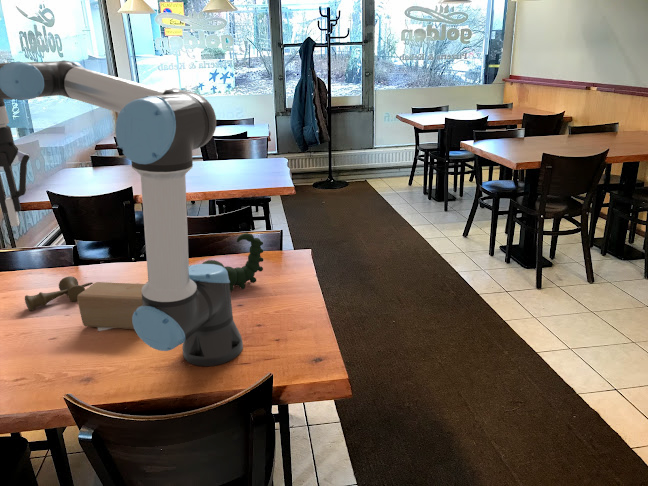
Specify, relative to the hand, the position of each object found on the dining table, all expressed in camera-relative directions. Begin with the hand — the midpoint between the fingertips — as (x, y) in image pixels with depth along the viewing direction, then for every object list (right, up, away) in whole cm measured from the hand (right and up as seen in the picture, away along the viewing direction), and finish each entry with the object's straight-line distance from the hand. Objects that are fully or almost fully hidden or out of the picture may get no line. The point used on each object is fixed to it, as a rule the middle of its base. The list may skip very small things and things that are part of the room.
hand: (15, 224), depth 126 cm
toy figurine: (+44, -20, +43) cm, 65 cm away
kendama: (-8, -23, +39) cm, 46 cm away
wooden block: (+7, -22, +23) cm, 33 cm away
